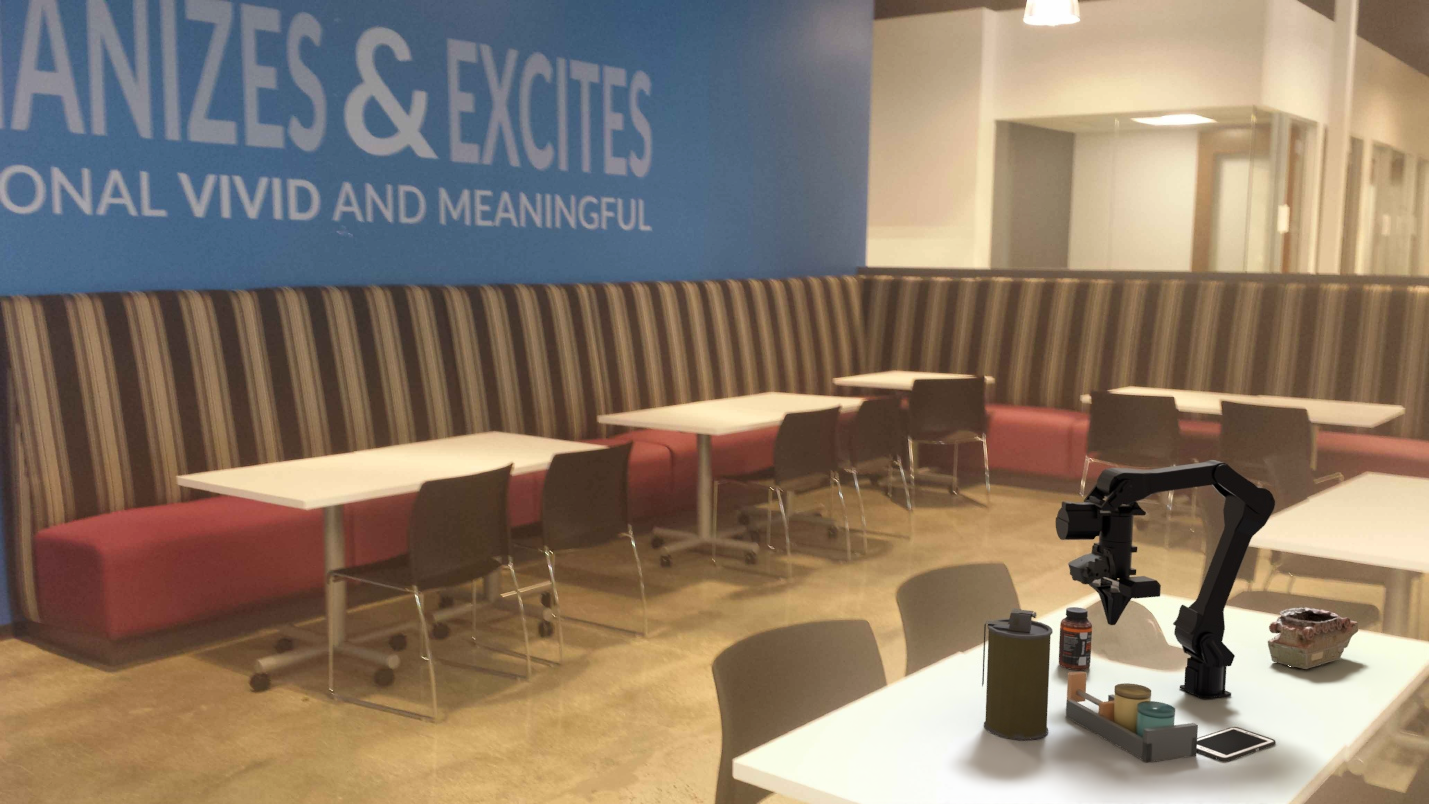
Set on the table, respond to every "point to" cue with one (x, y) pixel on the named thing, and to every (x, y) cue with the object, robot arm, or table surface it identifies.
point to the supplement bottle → (1075, 639)
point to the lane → (1150, 747)
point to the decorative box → (1309, 637)
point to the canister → (1017, 676)
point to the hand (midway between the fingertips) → (1111, 624)
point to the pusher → (1078, 694)
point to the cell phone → (1232, 744)
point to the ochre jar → (1129, 704)
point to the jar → (1153, 715)
